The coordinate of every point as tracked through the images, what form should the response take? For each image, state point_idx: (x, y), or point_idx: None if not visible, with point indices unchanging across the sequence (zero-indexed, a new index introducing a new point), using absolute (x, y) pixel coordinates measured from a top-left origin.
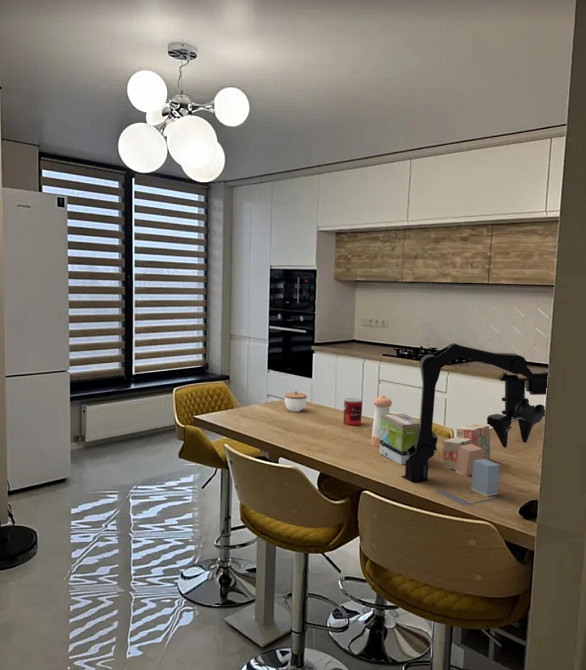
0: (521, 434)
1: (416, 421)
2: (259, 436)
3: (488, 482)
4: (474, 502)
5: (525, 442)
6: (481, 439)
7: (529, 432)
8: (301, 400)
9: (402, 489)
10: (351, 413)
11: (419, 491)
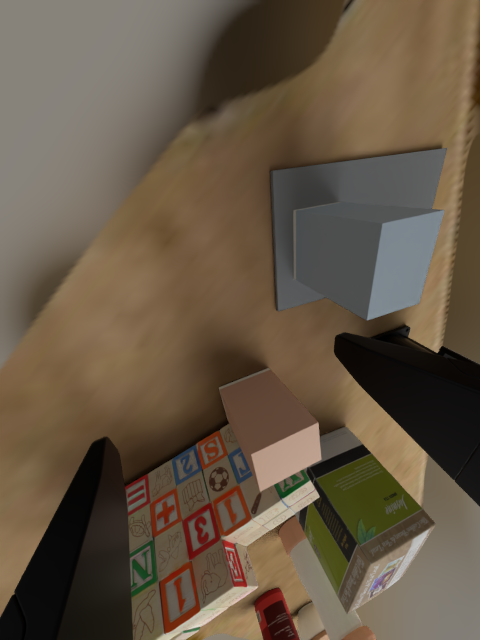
0: (127, 540)
1: (385, 565)
2: (415, 500)
3: (371, 206)
4: (406, 162)
5: (107, 438)
6: (155, 566)
7: (34, 583)
8: (315, 630)
9: (444, 298)
10: (286, 618)
11: (430, 282)
